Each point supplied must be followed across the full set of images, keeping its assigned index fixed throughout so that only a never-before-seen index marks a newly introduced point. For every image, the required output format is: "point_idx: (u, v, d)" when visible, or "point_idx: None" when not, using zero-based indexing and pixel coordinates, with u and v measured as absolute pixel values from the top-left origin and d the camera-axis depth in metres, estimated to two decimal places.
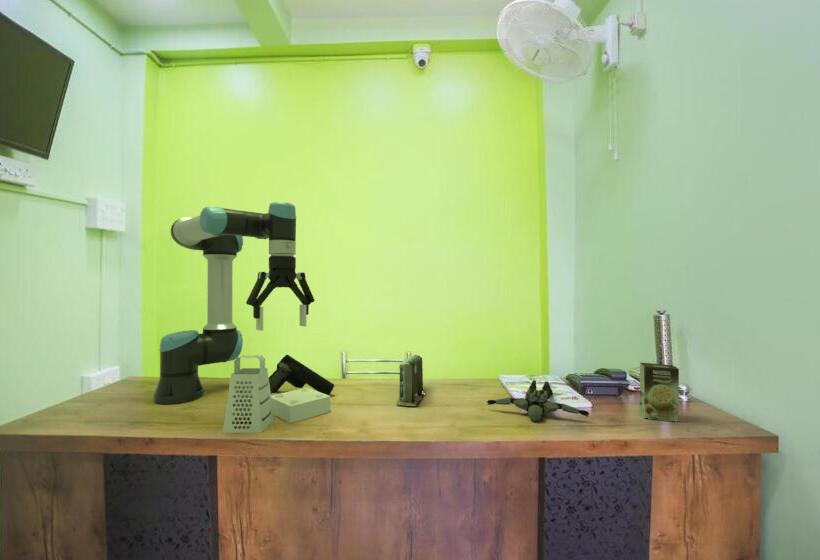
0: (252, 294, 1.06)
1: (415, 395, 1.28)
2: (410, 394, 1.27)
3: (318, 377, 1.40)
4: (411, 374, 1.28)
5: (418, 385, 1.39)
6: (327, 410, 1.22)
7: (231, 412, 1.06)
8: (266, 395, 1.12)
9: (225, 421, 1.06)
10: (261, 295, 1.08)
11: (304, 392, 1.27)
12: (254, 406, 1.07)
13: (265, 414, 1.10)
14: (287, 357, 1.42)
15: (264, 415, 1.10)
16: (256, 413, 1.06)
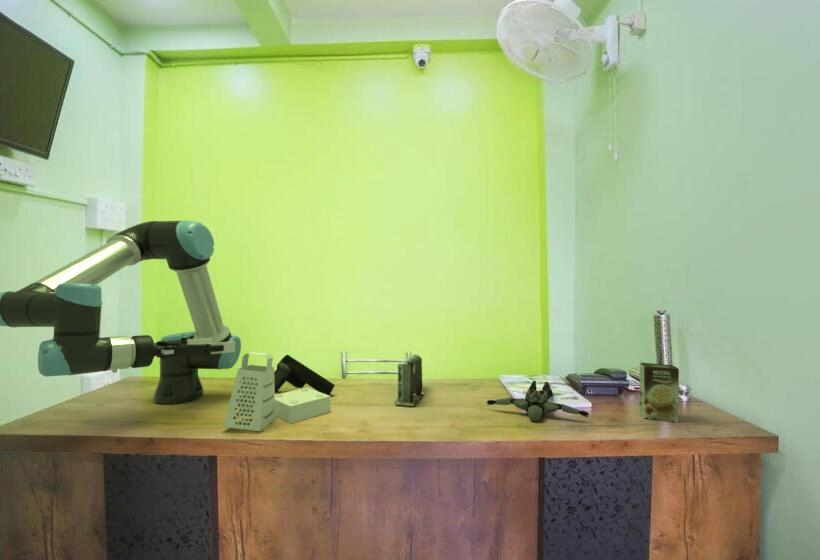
0: None
1: (413, 395, 1.28)
2: (409, 393, 1.28)
3: (318, 377, 1.40)
4: (409, 374, 1.28)
5: (417, 385, 1.39)
6: (327, 410, 1.22)
7: (234, 407, 1.07)
8: (270, 394, 1.12)
9: (227, 415, 1.06)
10: None
11: (304, 392, 1.27)
12: (256, 403, 1.07)
13: (267, 413, 1.10)
14: (287, 357, 1.42)
15: (265, 414, 1.09)
16: (257, 411, 1.06)
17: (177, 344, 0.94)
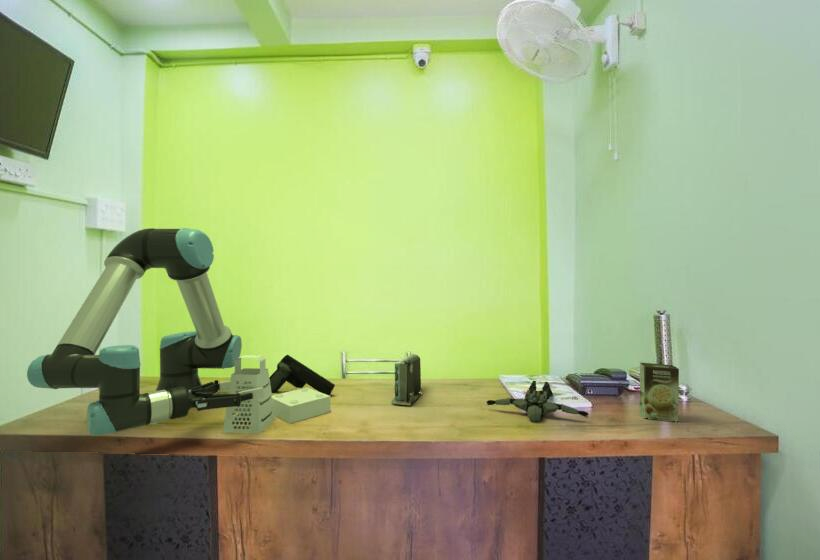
0: None
1: (410, 394, 1.28)
2: (405, 393, 1.28)
3: (318, 377, 1.40)
4: (406, 373, 1.29)
5: (415, 384, 1.39)
6: (327, 410, 1.22)
7: (231, 412, 1.06)
8: (266, 395, 1.12)
9: (225, 421, 1.06)
10: None
11: (304, 392, 1.27)
12: (253, 407, 1.06)
13: (265, 415, 1.10)
14: (287, 357, 1.42)
15: (264, 416, 1.09)
16: (255, 413, 1.06)
17: (210, 395, 0.99)
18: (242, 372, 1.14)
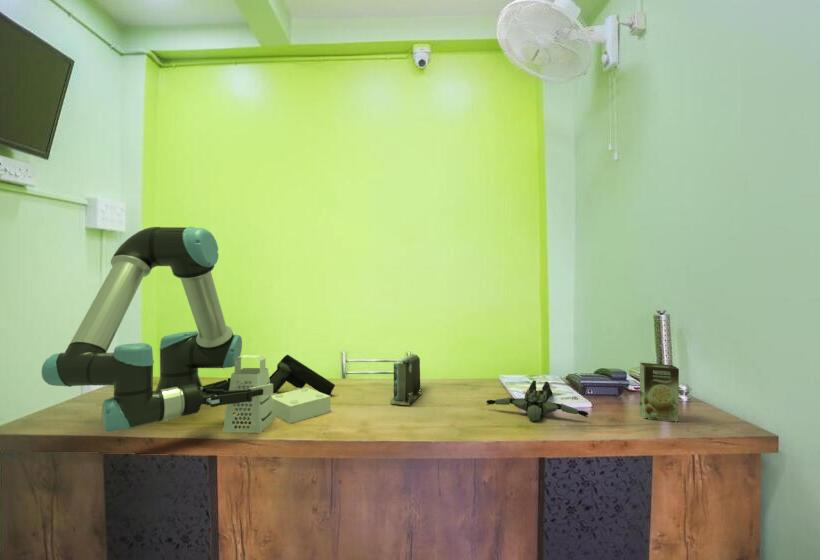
0: None
1: (409, 394, 1.29)
2: (404, 393, 1.28)
3: (318, 377, 1.40)
4: (405, 373, 1.29)
5: (414, 384, 1.39)
6: (327, 410, 1.22)
7: (231, 412, 1.07)
8: (266, 395, 1.12)
9: (225, 421, 1.06)
10: None
11: (304, 392, 1.27)
12: (254, 406, 1.07)
13: (265, 414, 1.10)
14: (287, 357, 1.42)
15: (264, 415, 1.09)
16: (255, 413, 1.06)
17: (221, 391, 1.02)
18: (242, 372, 1.14)
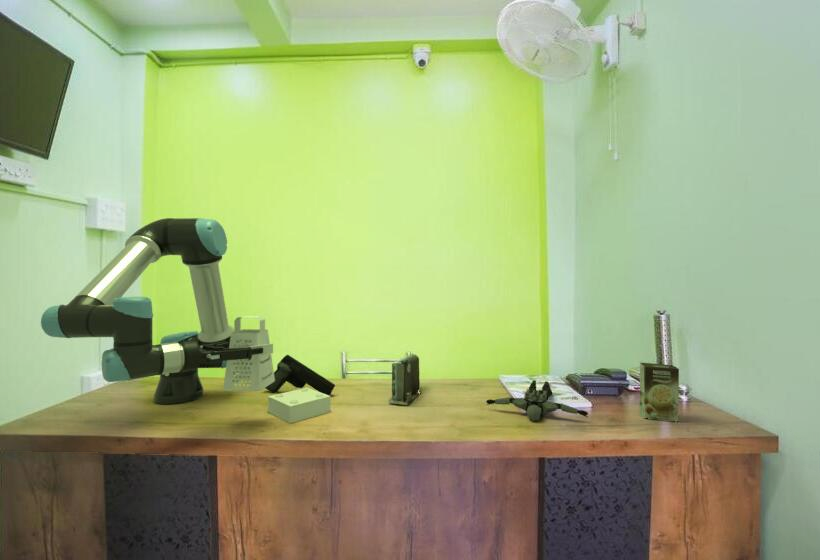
0: None
1: (407, 394, 1.29)
2: (402, 392, 1.29)
3: (318, 377, 1.40)
4: (403, 373, 1.29)
5: (413, 384, 1.40)
6: (327, 410, 1.22)
7: (231, 370, 1.07)
8: (266, 355, 1.12)
9: (225, 379, 1.06)
10: None
11: (304, 392, 1.27)
12: (254, 365, 1.07)
13: (265, 374, 1.10)
14: (287, 357, 1.42)
15: (264, 375, 1.10)
16: (255, 371, 1.06)
17: (221, 348, 1.02)
18: (241, 333, 1.14)
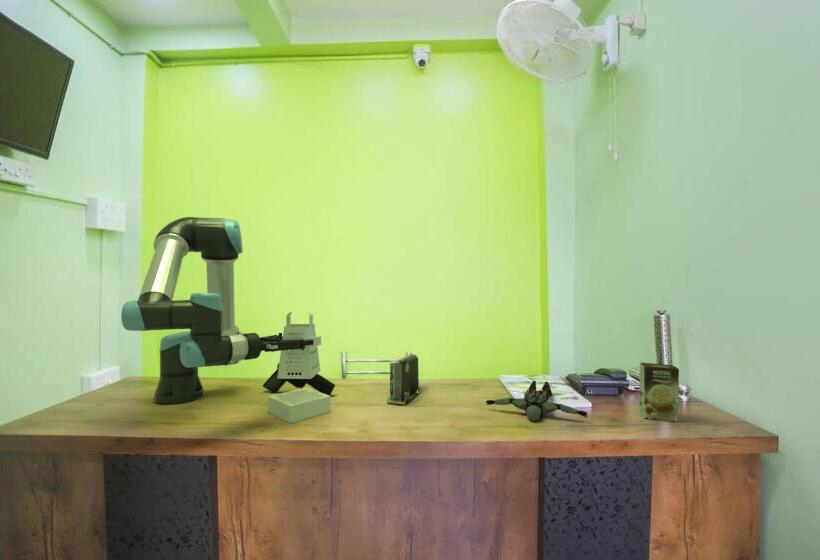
0: None
1: (405, 393, 1.29)
2: (400, 392, 1.29)
3: (319, 377, 1.40)
4: (401, 373, 1.29)
5: (411, 384, 1.40)
6: (327, 410, 1.22)
7: (285, 360, 1.18)
8: (314, 347, 1.24)
9: (279, 368, 1.18)
10: None
11: (304, 392, 1.27)
12: (305, 355, 1.18)
13: (314, 364, 1.22)
14: None
15: (313, 364, 1.21)
16: (307, 361, 1.18)
17: (278, 340, 1.14)
18: None
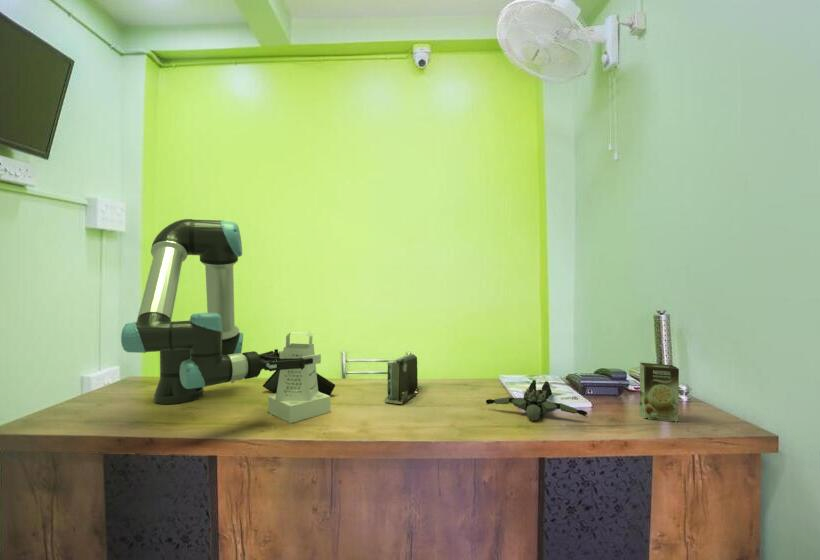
0: None
1: (402, 393, 1.30)
2: (397, 391, 1.30)
3: (319, 377, 1.40)
4: (398, 372, 1.30)
5: (409, 384, 1.40)
6: (327, 410, 1.22)
7: (283, 381, 1.18)
8: (313, 368, 1.24)
9: (278, 389, 1.18)
10: None
11: None
12: (304, 377, 1.18)
13: (312, 385, 1.22)
14: None
15: (311, 386, 1.22)
16: (305, 383, 1.18)
17: (277, 358, 1.13)
18: (290, 347, 1.26)
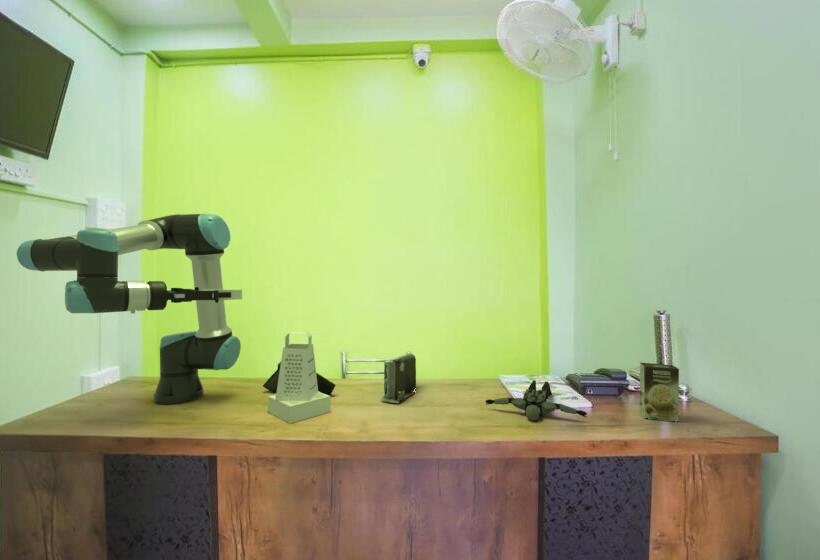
0: None
1: (398, 392, 1.31)
2: (394, 391, 1.30)
3: (319, 377, 1.40)
4: (394, 372, 1.31)
5: (407, 383, 1.41)
6: (327, 410, 1.22)
7: (283, 382, 1.18)
8: (312, 368, 1.24)
9: (277, 390, 1.18)
10: None
11: None
12: (303, 377, 1.18)
13: (312, 385, 1.22)
14: None
15: (311, 386, 1.22)
16: (305, 383, 1.18)
17: (188, 290, 1.02)
18: (289, 347, 1.26)
